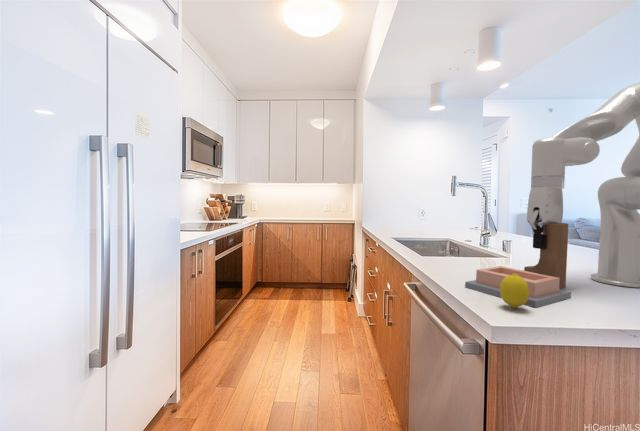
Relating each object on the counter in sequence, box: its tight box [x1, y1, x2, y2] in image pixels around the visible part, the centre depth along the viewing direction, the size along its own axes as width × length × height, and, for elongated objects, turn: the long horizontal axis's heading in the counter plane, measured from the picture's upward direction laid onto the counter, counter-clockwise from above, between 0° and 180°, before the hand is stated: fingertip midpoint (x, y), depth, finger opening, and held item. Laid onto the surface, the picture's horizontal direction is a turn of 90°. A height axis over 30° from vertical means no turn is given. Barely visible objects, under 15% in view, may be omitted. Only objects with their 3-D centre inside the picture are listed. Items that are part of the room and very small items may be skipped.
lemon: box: [500, 274, 529, 309], centre depth 68 cm, size 6×6×8 cm
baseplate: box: [464, 265, 572, 308], centre depth 80 cm, size 16×18×5 cm
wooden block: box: [523, 222, 569, 290], centre depth 86 cm, size 9×4×18 cm, turn 17°
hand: (544, 247), depth 86 cm, fingers closed on wooden block, 4 cm apart
